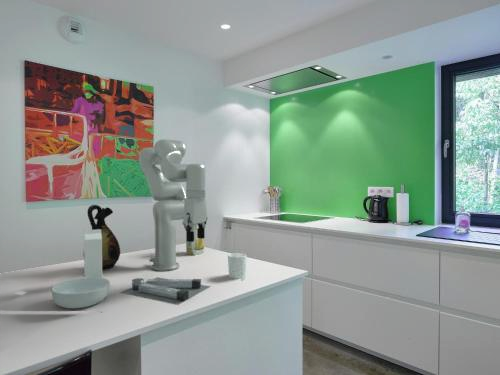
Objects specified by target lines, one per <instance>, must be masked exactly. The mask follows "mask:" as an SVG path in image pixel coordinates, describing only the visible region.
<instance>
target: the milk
mask: <svg viewBox="0 0 500 375" xmlns="http://www.w3.org/2000/svg"><path fill="white" fill-rule="evenodd" d="M83 233H84V234H83V253H84V256H83V261H84V262H83V263H84V264H83V265H84V266H83V269H84V270H83V272H84V277H100V278H103V270H102V235H101V229H97V230H92V229H86V230H84V232H83Z"/></svg>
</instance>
